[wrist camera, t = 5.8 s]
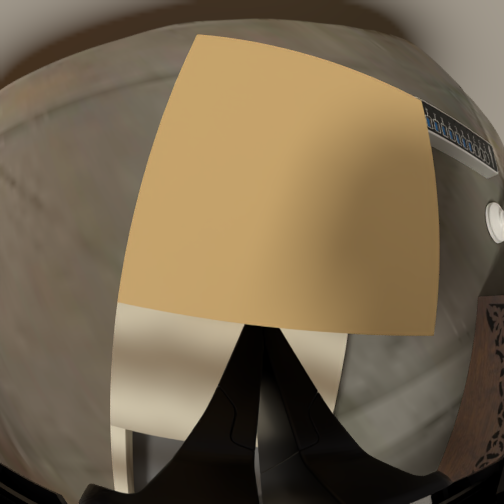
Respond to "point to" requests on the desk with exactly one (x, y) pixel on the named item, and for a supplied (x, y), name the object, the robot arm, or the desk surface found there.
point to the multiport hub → (459, 141)
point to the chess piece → (495, 221)
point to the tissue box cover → (480, 398)
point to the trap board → (185, 383)
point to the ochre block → (287, 198)
